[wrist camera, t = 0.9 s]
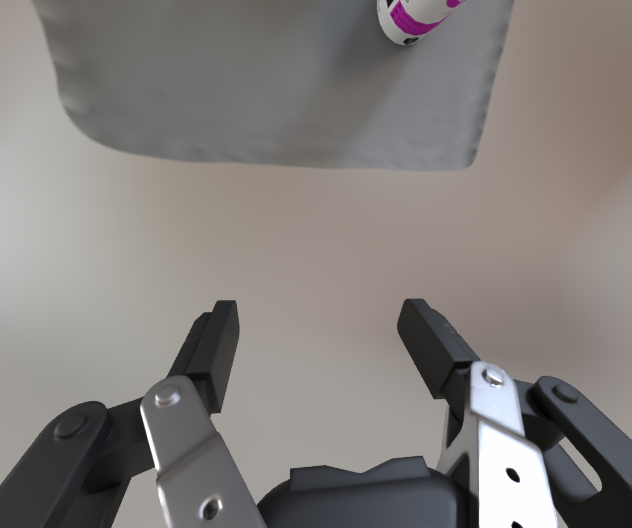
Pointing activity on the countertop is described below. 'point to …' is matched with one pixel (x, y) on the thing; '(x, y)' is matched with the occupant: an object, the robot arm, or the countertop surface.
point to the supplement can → (412, 17)
